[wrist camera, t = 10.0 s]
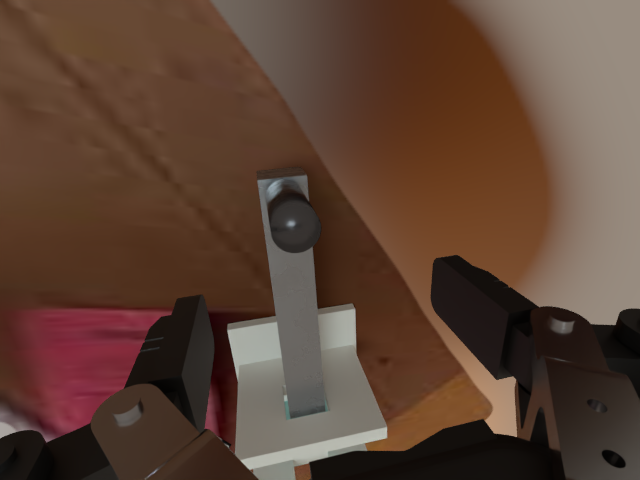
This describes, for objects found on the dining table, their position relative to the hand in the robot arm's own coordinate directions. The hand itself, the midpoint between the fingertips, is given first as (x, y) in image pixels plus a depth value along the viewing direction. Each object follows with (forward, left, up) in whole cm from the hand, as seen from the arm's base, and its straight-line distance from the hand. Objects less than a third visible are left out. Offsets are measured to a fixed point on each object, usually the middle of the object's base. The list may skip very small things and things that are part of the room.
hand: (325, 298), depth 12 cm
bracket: (0, -29, -24) cm, 38 cm away
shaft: (0, -11, -18) cm, 21 cm away
